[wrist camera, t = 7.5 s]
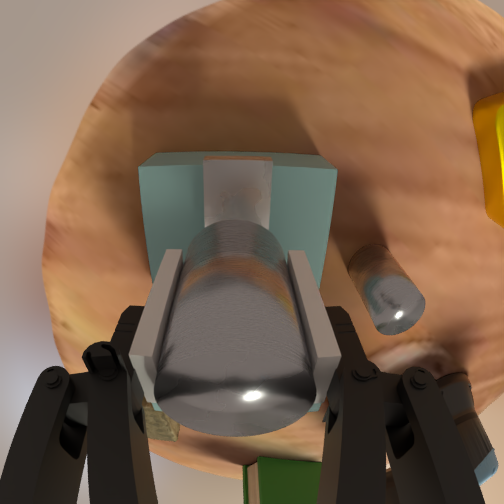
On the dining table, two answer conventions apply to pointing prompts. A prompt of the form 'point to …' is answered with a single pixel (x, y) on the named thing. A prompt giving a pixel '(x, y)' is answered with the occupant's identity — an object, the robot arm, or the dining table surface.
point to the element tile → (491, 152)
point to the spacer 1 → (235, 337)
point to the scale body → (281, 205)
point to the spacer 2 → (386, 290)
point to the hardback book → (281, 481)
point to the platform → (237, 188)
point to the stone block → (159, 424)
